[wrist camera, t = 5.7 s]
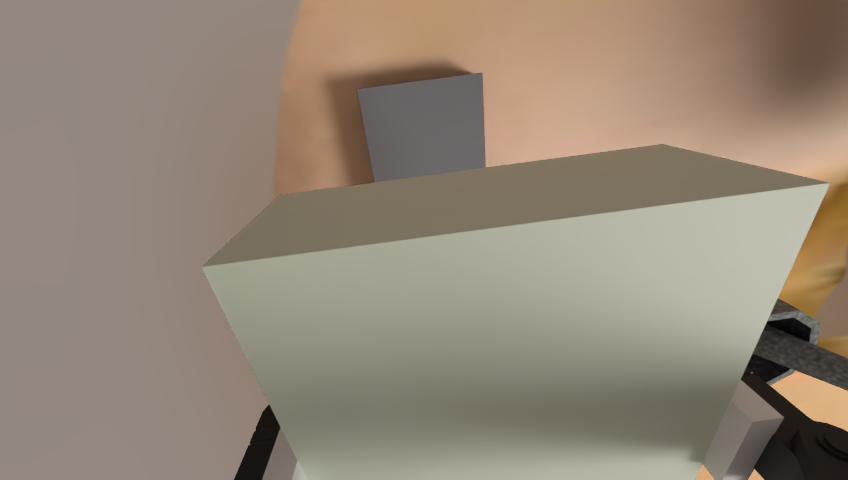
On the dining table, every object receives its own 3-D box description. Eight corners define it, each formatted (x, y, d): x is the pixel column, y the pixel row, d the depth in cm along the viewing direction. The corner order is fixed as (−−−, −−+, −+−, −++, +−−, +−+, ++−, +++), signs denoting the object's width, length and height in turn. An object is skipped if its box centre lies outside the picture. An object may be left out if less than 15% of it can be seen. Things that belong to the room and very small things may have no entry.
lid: (662, 144, 9) (830, 183, 6) (600, 443, 15) (661, 552, 12) (280, 194, 9) (201, 267, 6) (372, 474, 15) (363, 594, 12)
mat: (473, 73, 23) (482, 72, 20) (483, 294, 31) (490, 310, 29) (360, 88, 22) (356, 89, 20) (401, 306, 31) (401, 323, 28)
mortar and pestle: (640, 346, 36) (745, 459, 25) (658, 275, 32) (793, 373, 21) (738, 332, 36) (884, 438, 25) (768, 260, 32) (959, 349, 21)
